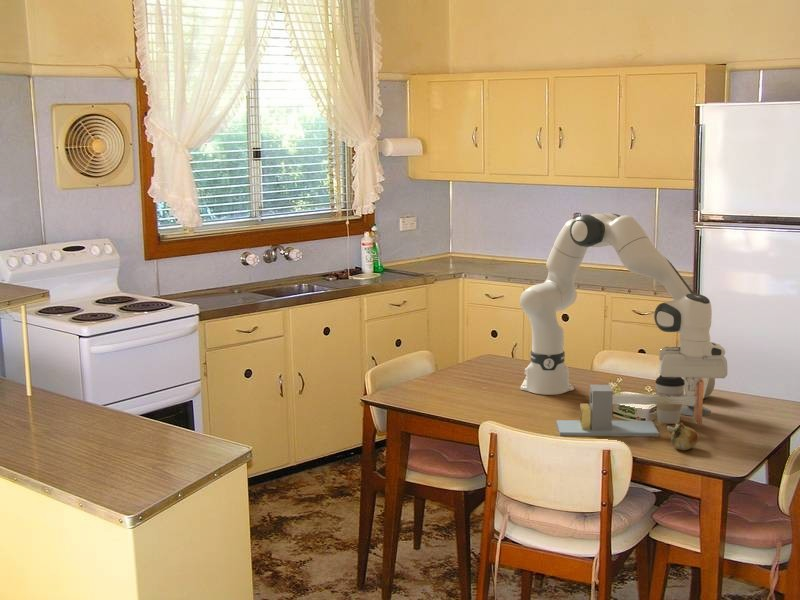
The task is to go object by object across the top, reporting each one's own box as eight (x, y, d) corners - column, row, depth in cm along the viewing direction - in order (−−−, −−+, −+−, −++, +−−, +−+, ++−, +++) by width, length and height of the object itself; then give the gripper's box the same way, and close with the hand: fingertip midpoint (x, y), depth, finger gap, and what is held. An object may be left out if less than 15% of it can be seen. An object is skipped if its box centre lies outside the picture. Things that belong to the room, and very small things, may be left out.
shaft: (602, 417, 308) (603, 376, 305) (697, 418, 306) (699, 376, 303) (605, 423, 302) (606, 381, 300) (701, 424, 300) (703, 381, 297)
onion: (686, 455, 282) (687, 429, 281) (664, 448, 289) (665, 422, 287) (702, 450, 287) (704, 423, 285) (680, 442, 293) (681, 417, 291)
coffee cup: (648, 420, 314) (650, 375, 311) (663, 414, 320) (665, 369, 317) (673, 426, 308) (675, 380, 305) (688, 420, 314) (690, 374, 311)
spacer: (579, 423, 309) (580, 403, 308) (587, 423, 309) (588, 403, 307) (581, 429, 303) (582, 409, 302) (590, 429, 303) (590, 409, 302)
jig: (556, 423, 312) (557, 382, 310) (651, 424, 310) (653, 382, 308) (559, 435, 301) (560, 393, 298) (659, 436, 299) (660, 393, 296)
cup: (687, 418, 316) (690, 353, 312) (668, 407, 327) (671, 345, 323) (718, 414, 319) (721, 350, 315) (698, 404, 330) (701, 342, 326)
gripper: (661, 349, 296) (658, 393, 299) (730, 350, 295) (727, 394, 297) (657, 344, 302) (655, 387, 305) (725, 345, 301) (722, 388, 304)
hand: (691, 390), depth 301 cm, fingers closed
